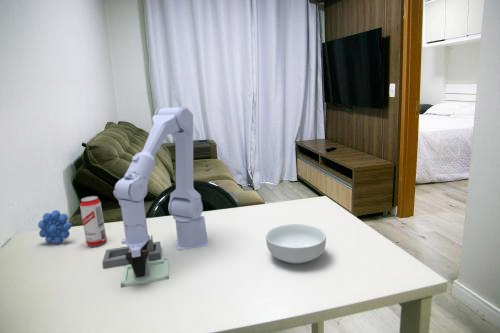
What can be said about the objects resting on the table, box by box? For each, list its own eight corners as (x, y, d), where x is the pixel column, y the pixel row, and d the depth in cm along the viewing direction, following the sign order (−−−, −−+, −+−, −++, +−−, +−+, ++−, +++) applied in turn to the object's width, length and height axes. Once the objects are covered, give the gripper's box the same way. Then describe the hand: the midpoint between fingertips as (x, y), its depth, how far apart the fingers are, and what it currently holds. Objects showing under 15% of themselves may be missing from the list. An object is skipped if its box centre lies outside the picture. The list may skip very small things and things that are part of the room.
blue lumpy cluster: (81, 237, 121) (75, 205, 118) (70, 246, 114) (64, 212, 112) (49, 238, 121) (43, 206, 119) (37, 247, 115) (30, 213, 112)
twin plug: (154, 252, 106) (152, 234, 105) (154, 258, 103) (151, 239, 101) (141, 255, 105) (138, 236, 104) (140, 260, 102) (137, 241, 101)
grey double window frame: (161, 248, 109) (159, 240, 108) (161, 260, 101) (159, 251, 100) (107, 257, 105) (106, 248, 104) (103, 269, 97) (102, 260, 97)
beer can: (99, 248, 112) (91, 201, 108) (82, 247, 113) (74, 201, 109) (110, 239, 118) (103, 195, 114) (94, 239, 119) (87, 195, 115)
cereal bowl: (331, 248, 102) (331, 226, 101) (318, 277, 88) (317, 251, 86) (278, 241, 110) (277, 220, 108) (257, 266, 95) (256, 242, 93)
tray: (168, 262, 100) (167, 258, 99) (169, 280, 90) (168, 275, 90) (125, 269, 97) (124, 265, 97) (121, 288, 87) (120, 284, 87)
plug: (150, 269, 95) (147, 249, 94) (149, 275, 92) (146, 254, 91) (135, 272, 94) (132, 251, 93) (134, 278, 91) (131, 257, 90)
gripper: (121, 215, 96) (128, 259, 99) (115, 235, 82) (123, 286, 85) (147, 211, 97) (153, 255, 101) (145, 231, 84) (152, 281, 87)
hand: (141, 269), depth 93 cm, fingers open, 7 cm apart
